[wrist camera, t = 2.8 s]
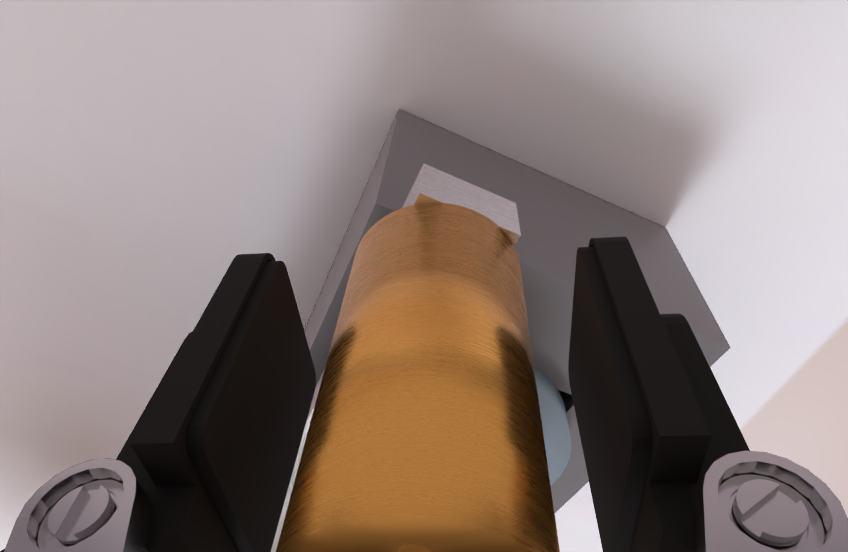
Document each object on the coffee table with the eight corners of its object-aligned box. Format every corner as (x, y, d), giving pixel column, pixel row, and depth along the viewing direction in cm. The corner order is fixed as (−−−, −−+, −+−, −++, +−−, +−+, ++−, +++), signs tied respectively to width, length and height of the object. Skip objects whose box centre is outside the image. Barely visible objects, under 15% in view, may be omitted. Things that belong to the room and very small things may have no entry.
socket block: (453, 485, 30) (451, 640, 24) (263, 426, 28) (210, 579, 22) (665, 227, 20) (748, 381, 14) (399, 109, 18) (369, 230, 12)
